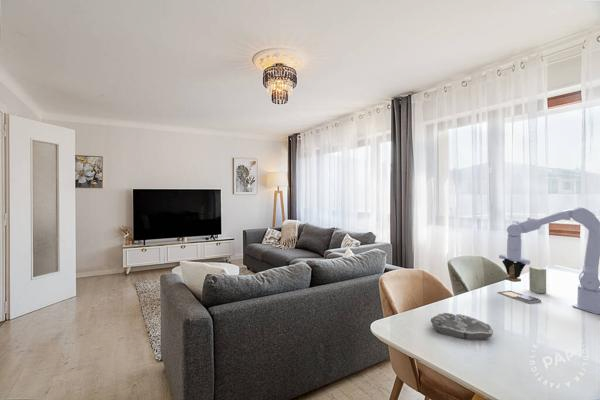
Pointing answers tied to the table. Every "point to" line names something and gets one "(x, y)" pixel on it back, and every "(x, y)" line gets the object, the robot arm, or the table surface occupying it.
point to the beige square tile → (510, 294)
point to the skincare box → (537, 279)
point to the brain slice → (461, 326)
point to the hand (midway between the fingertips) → (513, 276)
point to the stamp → (512, 275)
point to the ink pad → (528, 299)
